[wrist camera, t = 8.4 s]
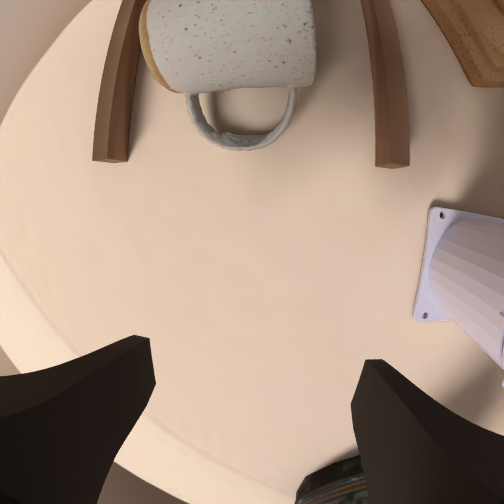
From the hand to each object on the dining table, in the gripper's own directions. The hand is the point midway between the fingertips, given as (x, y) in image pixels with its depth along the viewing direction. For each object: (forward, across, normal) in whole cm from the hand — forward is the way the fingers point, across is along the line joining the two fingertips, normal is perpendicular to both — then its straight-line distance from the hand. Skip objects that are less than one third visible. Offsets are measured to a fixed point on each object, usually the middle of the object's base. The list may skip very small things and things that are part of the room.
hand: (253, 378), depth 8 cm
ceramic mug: (+10, +2, -14) cm, 17 cm away
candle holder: (+10, -18, -23) cm, 31 cm away
